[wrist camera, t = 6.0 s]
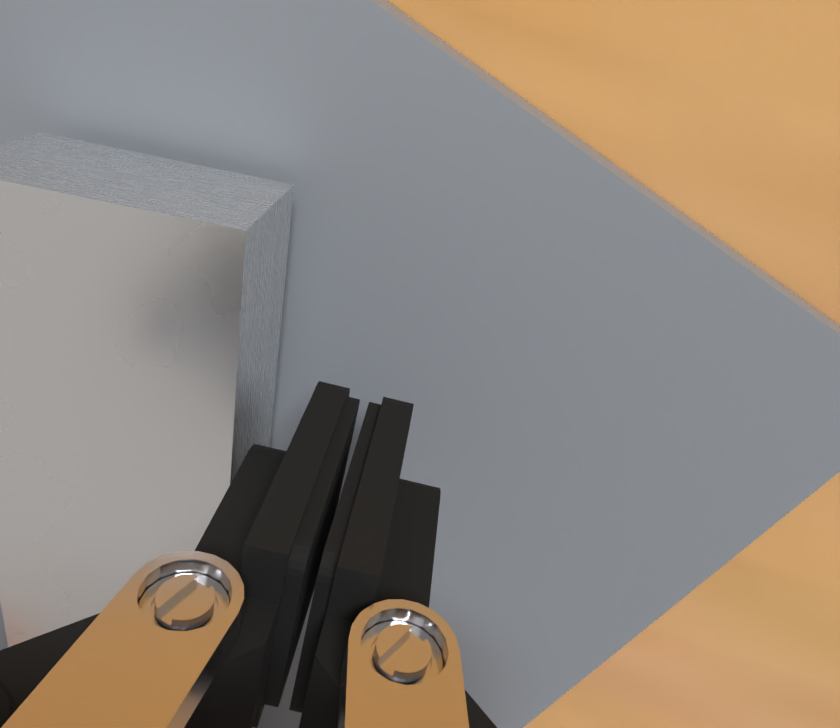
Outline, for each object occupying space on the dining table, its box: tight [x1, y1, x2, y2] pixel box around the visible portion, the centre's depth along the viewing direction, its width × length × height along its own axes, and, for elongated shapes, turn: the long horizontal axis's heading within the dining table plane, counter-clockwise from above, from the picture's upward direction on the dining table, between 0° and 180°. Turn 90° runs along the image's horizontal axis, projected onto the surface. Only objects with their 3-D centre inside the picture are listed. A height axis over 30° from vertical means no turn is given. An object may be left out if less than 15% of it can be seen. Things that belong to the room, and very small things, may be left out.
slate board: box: [0, 0, 840, 728], centre depth 16 cm, size 26×28×2 cm
